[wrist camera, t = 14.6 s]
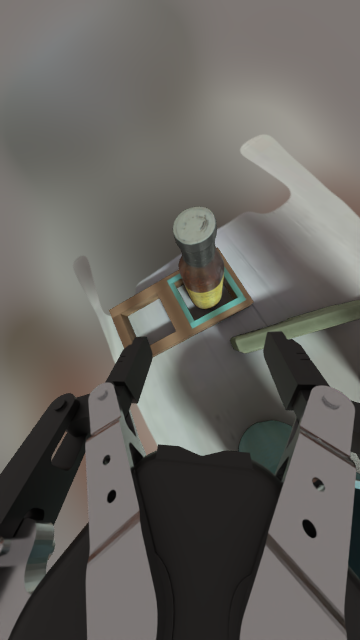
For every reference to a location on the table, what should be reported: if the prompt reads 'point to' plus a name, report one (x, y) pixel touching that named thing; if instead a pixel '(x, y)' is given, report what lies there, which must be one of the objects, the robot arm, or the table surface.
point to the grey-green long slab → (299, 325)
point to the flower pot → (267, 450)
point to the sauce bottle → (199, 256)
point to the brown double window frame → (178, 309)
